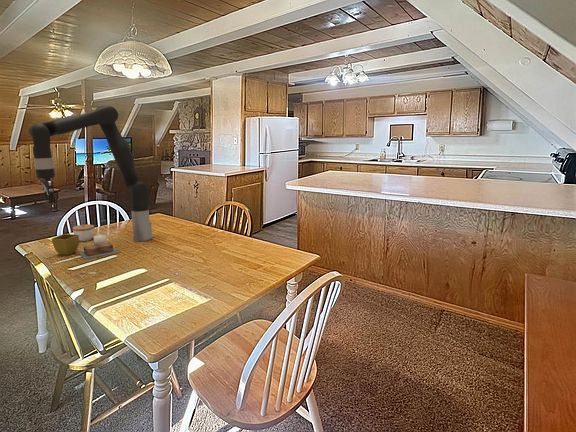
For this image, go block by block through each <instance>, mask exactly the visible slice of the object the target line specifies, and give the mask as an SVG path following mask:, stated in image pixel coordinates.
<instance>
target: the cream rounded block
mask: <svg viewBox="0 0 576 432" xmlns="http://www.w3.org/2000/svg"><path fill="white" fill-rule="evenodd" d="M92 238H93V245H97V244H102V243H108V241H107V234H94V236H93V237H92Z"/></svg>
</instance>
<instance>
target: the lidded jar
mask: <svg viewBox="0 0 576 432" xmlns="http://www.w3.org/2000/svg"><path fill="white" fill-rule="evenodd" d="M72 231H73V232H72V234H74V235H79V242H89V241H91V240H92V238H94V237H93V236H95V225H94V224H85V223H81V224H79V225H75V226H73V227H72Z"/></svg>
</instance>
